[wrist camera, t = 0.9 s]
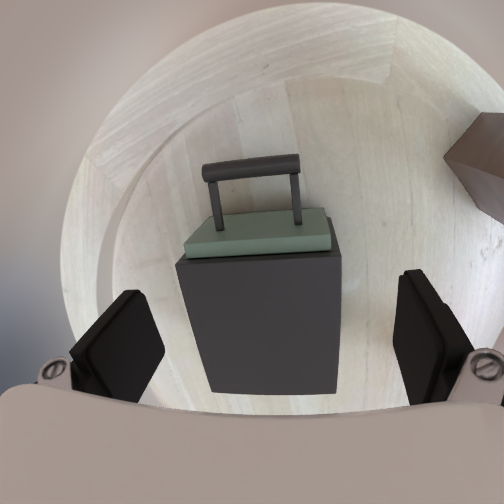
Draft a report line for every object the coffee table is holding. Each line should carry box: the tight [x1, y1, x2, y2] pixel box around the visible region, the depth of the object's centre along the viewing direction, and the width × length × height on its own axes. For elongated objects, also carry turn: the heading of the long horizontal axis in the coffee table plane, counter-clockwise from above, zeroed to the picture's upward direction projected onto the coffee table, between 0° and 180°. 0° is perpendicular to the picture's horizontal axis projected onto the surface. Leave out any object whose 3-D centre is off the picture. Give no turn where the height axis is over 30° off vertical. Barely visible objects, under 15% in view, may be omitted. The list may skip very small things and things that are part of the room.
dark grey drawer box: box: [175, 217, 342, 395], centre depth 27 cm, size 14×12×9 cm
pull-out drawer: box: [184, 154, 331, 259], centre depth 25 cm, size 18×10×7 cm, turn 7°
